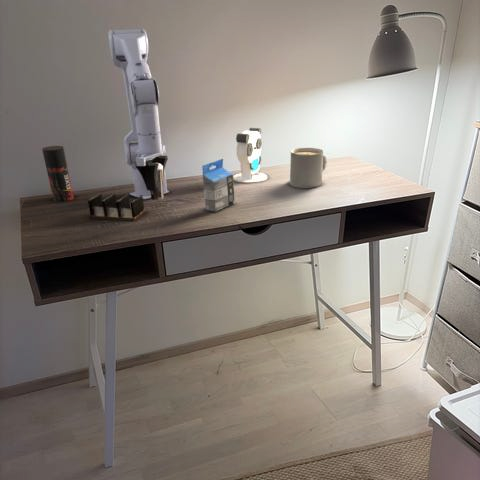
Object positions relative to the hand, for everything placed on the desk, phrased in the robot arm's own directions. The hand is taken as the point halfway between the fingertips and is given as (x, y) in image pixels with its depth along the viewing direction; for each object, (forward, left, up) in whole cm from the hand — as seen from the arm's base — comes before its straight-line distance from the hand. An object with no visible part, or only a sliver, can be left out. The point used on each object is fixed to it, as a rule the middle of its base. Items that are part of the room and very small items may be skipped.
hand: (155, 187), depth 133 cm
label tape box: (-17, +6, -8) cm, 20 cm away
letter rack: (+6, -10, -8) cm, 15 cm away
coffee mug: (-52, +11, -8) cm, 54 cm away
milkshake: (0, 0, -3) cm, 3 cm away
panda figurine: (-44, -8, -8) cm, 46 cm away
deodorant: (+8, -37, -8) cm, 39 cm away
